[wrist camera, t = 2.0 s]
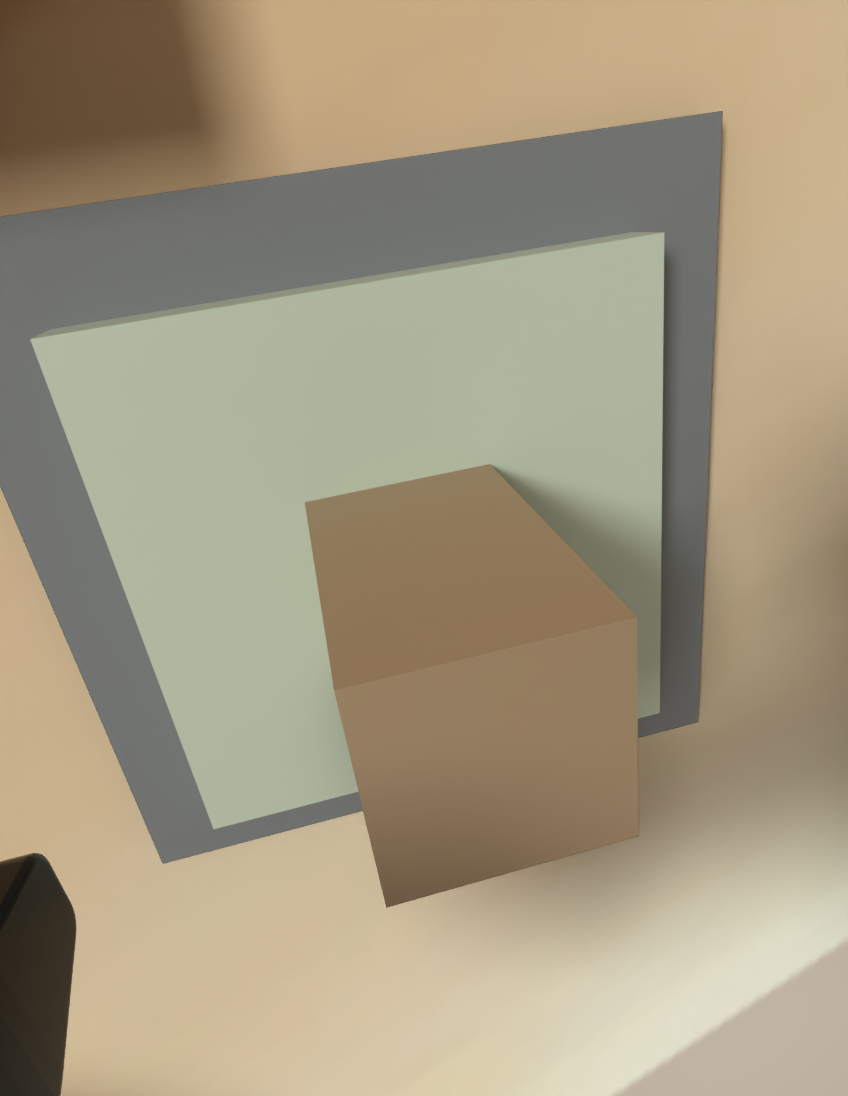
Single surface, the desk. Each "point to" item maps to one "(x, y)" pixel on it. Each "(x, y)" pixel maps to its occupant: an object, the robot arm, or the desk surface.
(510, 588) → the lid
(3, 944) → the robot arm
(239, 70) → the desk surface
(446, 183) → the mat
